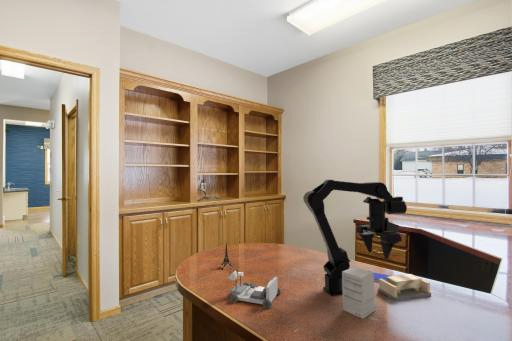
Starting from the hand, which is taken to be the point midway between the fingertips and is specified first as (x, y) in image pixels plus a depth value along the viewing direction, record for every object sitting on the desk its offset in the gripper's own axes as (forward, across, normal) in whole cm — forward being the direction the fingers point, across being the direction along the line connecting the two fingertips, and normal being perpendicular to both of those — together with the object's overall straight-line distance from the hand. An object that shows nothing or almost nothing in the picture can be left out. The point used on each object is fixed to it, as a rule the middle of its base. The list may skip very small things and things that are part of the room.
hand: (377, 255), depth 102 cm
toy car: (+14, +7, +48) cm, 50 cm away
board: (+10, -5, -7) cm, 13 cm away
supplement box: (+13, -12, +17) cm, 25 cm away
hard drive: (+14, +7, -10) cm, 18 cm away
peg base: (+13, -5, -7) cm, 16 cm away
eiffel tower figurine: (+14, +41, +53) cm, 68 cm away
